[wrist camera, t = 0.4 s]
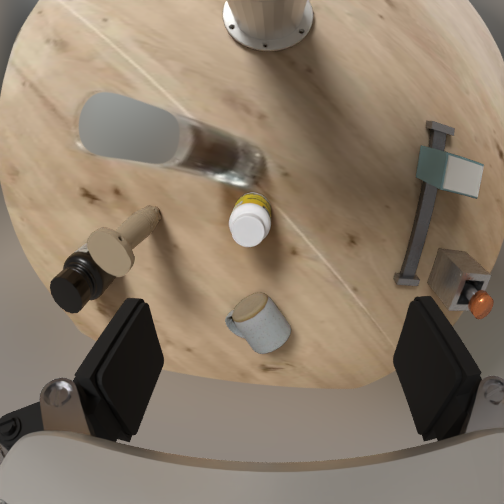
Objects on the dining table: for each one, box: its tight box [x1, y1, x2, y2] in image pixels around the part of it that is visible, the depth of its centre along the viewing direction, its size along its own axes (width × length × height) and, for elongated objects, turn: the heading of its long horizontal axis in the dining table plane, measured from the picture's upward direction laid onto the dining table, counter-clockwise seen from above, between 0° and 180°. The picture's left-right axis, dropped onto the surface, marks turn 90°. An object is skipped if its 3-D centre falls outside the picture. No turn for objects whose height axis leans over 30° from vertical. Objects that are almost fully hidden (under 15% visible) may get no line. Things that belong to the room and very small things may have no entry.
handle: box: [87, 205, 161, 277], centre depth 39 cm, size 5×6×15 cm
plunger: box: [462, 280, 493, 319], centre depth 37 cm, size 4×4×8 cm
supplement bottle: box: [229, 193, 271, 247], centre depth 40 cm, size 5×5×10 cm
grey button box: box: [427, 248, 491, 311], centre depth 42 cm, size 7×7×9 cm
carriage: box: [416, 146, 484, 199], centre depth 34 cm, size 5×7×9 cm
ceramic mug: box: [225, 293, 291, 354], centre depth 49 cm, size 11×8×8 cm
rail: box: [393, 121, 455, 286], centre depth 41 cm, size 27×4×2 cm, turn 176°
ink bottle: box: [50, 243, 116, 313], centre depth 45 cm, size 10×9×12 cm
